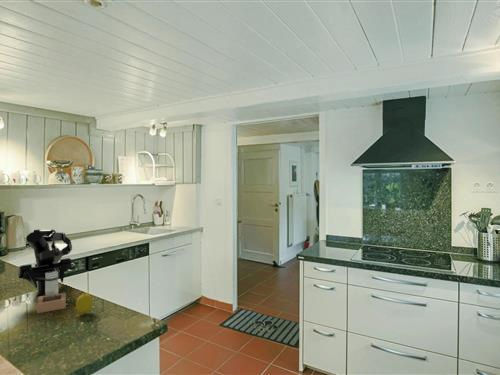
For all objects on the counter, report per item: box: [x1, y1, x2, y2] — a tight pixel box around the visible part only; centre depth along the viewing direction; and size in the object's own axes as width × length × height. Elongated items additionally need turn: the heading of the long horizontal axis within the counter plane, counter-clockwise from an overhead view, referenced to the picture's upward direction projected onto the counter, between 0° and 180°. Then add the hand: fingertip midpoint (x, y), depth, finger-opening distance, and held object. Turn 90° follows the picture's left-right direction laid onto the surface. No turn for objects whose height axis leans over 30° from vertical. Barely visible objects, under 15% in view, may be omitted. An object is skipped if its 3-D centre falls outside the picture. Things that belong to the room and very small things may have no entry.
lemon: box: [75, 292, 94, 315], centre depth 116 cm, size 6×6×8 cm
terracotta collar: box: [36, 292, 67, 314], centre depth 124 cm, size 9×9×4 cm
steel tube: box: [45, 270, 60, 302], centre depth 124 cm, size 5×5×14 cm
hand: (49, 284), depth 127 cm, fingers open, 9 cm apart
